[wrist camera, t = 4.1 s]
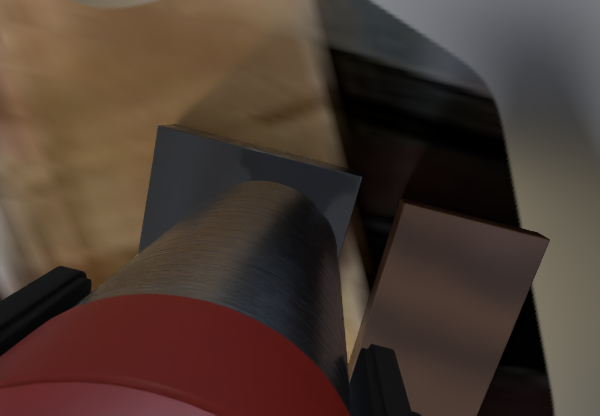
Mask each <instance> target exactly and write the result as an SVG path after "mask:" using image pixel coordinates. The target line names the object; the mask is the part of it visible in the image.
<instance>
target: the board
mask: <svg viewBox="0 0 600 416" xmlns="http://www.w3.org/2000/svg"><path fill="white" fill-rule="evenodd" d="M549 241H550V239H548V238H546V237H545V236H543V235H541V234H539V233H537V232H534V231H529V230H526V229H522V228H518V227H514V226H510V225H506V224H502V223H498V222H494V221H490V220H486V219H482V218H478V217H474V216H470V215H466V214H462V213H459V212H455V211H451V210H447V209H443V208H439V207H435V206H431V205H427V204H423V203H419V202H415V201H411V200H407V199H403V198H401V199H400V202H399V205H398V208H397V211H396V214H395V218H394V221H393V224H392V227H391V230H390V233H389V237H388V240H387V243H386V246H385V249H384V253H383V256H382V259H381V262H380V265H379V269H378V272H377V275H376V278H375V281H374V285H373V288H372V291H371V294H370V297H369V300H368V304H367V307H366V310H365V313H364V316H363V320H362V323H361V326H360V329H359V332H358V336H357V339H356V342H355V345H354V348H353V352H352V355H351V358H350V361H349V364H348V374H349V383H350V380H351V377H352V374H353V371H354V368H355V364H356V361H357V358H358V355H359V352H360V350H361V348H366V349H368V348H369V346H370V345H371V344H374V345H378V346H382V347H386V348H390V349H393V350H394V351H395V354H396V358H397V362H398V365H399V369H400V372H401V376H402V379H403V383H404V386H405V390H406V394H407V397H408V401H409V404H410V408H411V411H413V412H417V413H419V414H420V415H421V416H477V414H478V411H479V409H480V407H481V404H482V402H483V399H484V397H485V395H486V392H487V390H488V387H489V385H490V383H491V380H492V378H493V375H494V373H495V371H496V368H497V366H498V363H499V361H500V359H501V356H502V354H503V351H504V349H505V347H506V344H507V342H508V339H509V337H510V335H511V332H512V330H513V327H514V325H515V323H516V320H517V318H518V315H519V313H520V311H521V308H522V306H523V303H524V301H525V299H526V296H527V294H528V291H529V289H530V287H531V284H532V282H533V279H534V277H535V275H536V272H537V270H538V267H539V265H540V263H541V260H542V258H543V255H544V253H545V251H546V248H547V246H548V243H549Z"/></svg>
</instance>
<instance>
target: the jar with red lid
mask: <svg viewBox="0 0 600 416" xmlns="http://www.w3.org/2000/svg"><path fill="white" fill-rule="evenodd" d="M0 416H352V409H351V397H350V386H349V374H348V363H347V352H346V340H345V329H344V317H343V306H342V294H341V283H340V272H339V260H338V249H337V243H336V238H335V235H334V232H333V230H332V227H331V225H330V223H329V221H328V220H327V218H326V217H325V215H324V214H323V212H322V211H321V210H320V209H319V208H318V207H317V205H316V204H315V203H314V202H312V201H311V200H310V199H309V198H308V197H306V196H305V195H303V194H302V193H300V192H298V191H297V190H295V189H292V188H290V187H288V186H285V185H282V184H279V183H275V182H269V181H246V182H241V183H236V184H233V185H230V186H228V187H225V188H223V189H222V190H220V191H218V192H216V193H215V194H213V195H212V196H211V197H209V198H208V199H207V200H205V201H204V202H203V203H202V204H200V205H199V206H198V207H197V208H196V209H194V210H193V211H192V212H191V213H189V214H188V215H187V216H186V217H184V218H183V219H182V220H181V221H179V222H178V223H177V224H176V225H174V226H173V227H172V228H171V229H169V230H168V231H167V232H166V233H164V234H163V235H162V236H161V237H159V238H158V239H157V240H156V241H155V242H153V243H152V244H151V245H150V246H148V247H147V248H146V249H145V250H143V251H142V252H141V253H140V254H138V255H137V256H136V257H135V258H133V259H132V260H131V261H130V262H128V263H127V264H126V265H125V266H123V267H122V268H121V269H120V270H118V271H117V272H116V273H115V274H113V275H112V276H111V277H110V278H109V279H107V280H106V281H105V282H104V283H102V284H101V285H100V286H99V287H97V288H96V289H95V290H94V291H92V292H91V293H90V294H89V295H87V296H86V297H85V298H84V299H82V300H81V301H80V302H79V303H77V304H76V305H75V306H74V307H72V308H71V309H69V310H67V311H65V312H63V313H61V314H59V315H57V316H55V317H53V318H51V319H50V320H48V321H47V322H45V323H44V324H43V325H41V326H40V327H38V328H37V329H35V330H34V331H33V332H31V333H30V334H29V335H27V336H26V337H25V338H24V339H22V340H21V341H20V342H18V343H17V344H16V345H15V346H13V347H12V348H11V349H9V350H8V351H7V352H6V353H4V354H3V355H2V356H0Z"/></svg>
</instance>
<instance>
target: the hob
mask: <svg viewBox="0 0 600 416" xmlns="http://www.w3.org/2000/svg"><path fill="white" fill-rule="evenodd" d="M361 180H362V176H361V174H360V173H359V171H357V170H353V169H349V168H345V167H341V166H337V165H333V164H329V163H326V162H322V161H318V160H314V159H310V158H306V157H302V156H298V155H294V154H290V153H286V152H282V151H278V150H274V149H270V148H266V147H262V146H258V145H254V144H250V143H246V142H242V141H238V140H235V139H231V138H227V137H223V136H219V135H215V134H211V133H207V132H203V131H199V130H195V129H191V128H187V127H183V126H179V125H175V124H172V125H159V126H158V131H157V137H156V144H155V150H154V156H153V163H152V169H151V176H150V182H149V188H148V195H147V201H146V208H145V214H144V220H143V227H142V233H141V240H140V246H139V252H138V254H140V253H141V252H142V251H143V250H145V249H146V248H147V247H148V246H150V245H151V244H152V243H153V242H155V241H156V240H157V239H158V238H159V237H161V236H162V235H163V234H164V233H166V232H167V231H168V230H169V229H171V228H172V227H173V226H174V225H176V224H177V223H178V222H179V221H181V220H182V219H183V218H184V217H186V216H187V215H188V214H189V213H191V212H192V211H193V210H194V209H196V208H197V207H198V206H199V205H200V204H202V203H203V202H204V201H205V200H207V199H208V198H209V197H211V196H212V195H213V194H215V193H216V192H218V191H220V190H222V189H223V188H225V187H228V186H230V185H233V184H236V183H241V182H246V181H269V182H275V183H279V184H282V185H285V186H288V187H290V188H292V189H295V190H297V191H298V192H300V193H302V194H303V195H305V196H306V197H308V198H309V199H310V200H311V201H312V202H314V203H315V204H316V205H317V207H318V208H319V209H320V210H321V211H322V212H323V214H324V215H325V217H326V218H327V220H328V221H329V223H330V225H331V227H332V230H333V232H334V235H335V238H336V243H337V249H338V260H339V257H340V254H341V250H342V247H343V243H344V240H345V236H346V233H347V229H348V226H349V222H350V219H351V215H352V212H353V208H354V205H355V201H356V198H357V194H358V191H359V187H360V184H361Z"/></svg>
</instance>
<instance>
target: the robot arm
mask: <svg viewBox="0 0 600 416" xmlns="http://www.w3.org/2000/svg"><path fill="white" fill-rule="evenodd" d="M90 293H91V280H90V279H87V278H86V273H85V272H84V271H80V270H76V269H72V268H68V267H64V266H59V267H56V268H55V269H53V270H52V271H50V272H48V273H47V274H45V275H43V276H42V277H40V278H38V279H37V280H35V281H33V282H32V283H30V284H28V285H27V286H25V287H24V288H22V289H20V290H19V291H17V292H15V293H14V294H12V295H10V296H9V297H7V298H5V299H4V300H2V301H0V356H2V355H3V354H4V353H6V352H7V351H8V350H9V349H11V348H12V347H13V346H15V345H16V344H17V343H18V342H20V341H21V340H22V339H24V338H25V337H26V336H27V335H29V334H30V333H31V332H33V331H34V330H35V329H37V328H38V327H40V326H41V325H43V324H44V323H45V322H47V321H48V320H50V319H51V318H53V317H55V316H57V315H59V314H61V313H63V312H65V311H67V310H69V309H71V308H72V307H74V306H75V305H76V304H77V303H79V302H80V301H81V300H82V299H84V298H85V297H86V296H87V295H89V294H90ZM349 386H350V397H351V409H352V416H421V415H420V414H419V413H417V412H413V411H411V408H410V404H409V401H408V397H407V394H406V390H405V386H404V383H403V379H402V376H401V372H400V369H399V365H398V362H397V358H396V354H395V351H394V350H393V349H390V348H386V347H382V346H378V345H374V344H371V345H370V346H369V348H368V349H366V348H361V350H360V352H359V355H358V358H357V361H356V364H355V368H354V371H353V374H352V377H351V380H350V383H349Z"/></svg>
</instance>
